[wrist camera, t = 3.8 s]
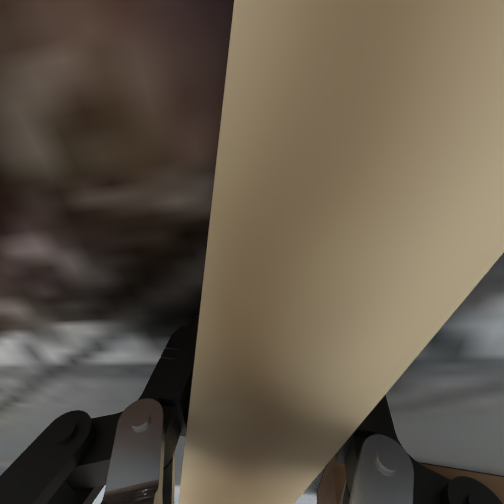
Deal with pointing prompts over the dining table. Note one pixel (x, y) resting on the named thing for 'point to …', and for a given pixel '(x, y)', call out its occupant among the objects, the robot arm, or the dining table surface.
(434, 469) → the stair steps
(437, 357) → the dining table surface
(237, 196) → the batten
